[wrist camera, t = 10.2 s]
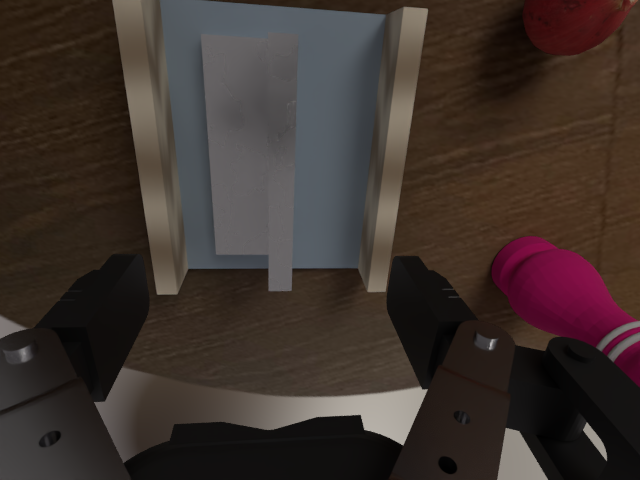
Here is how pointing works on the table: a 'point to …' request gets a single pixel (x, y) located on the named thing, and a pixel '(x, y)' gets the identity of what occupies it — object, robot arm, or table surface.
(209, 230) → the board
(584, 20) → the onion
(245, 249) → the bracket
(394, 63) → the walls
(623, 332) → the pepper mill
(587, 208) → the table surface
